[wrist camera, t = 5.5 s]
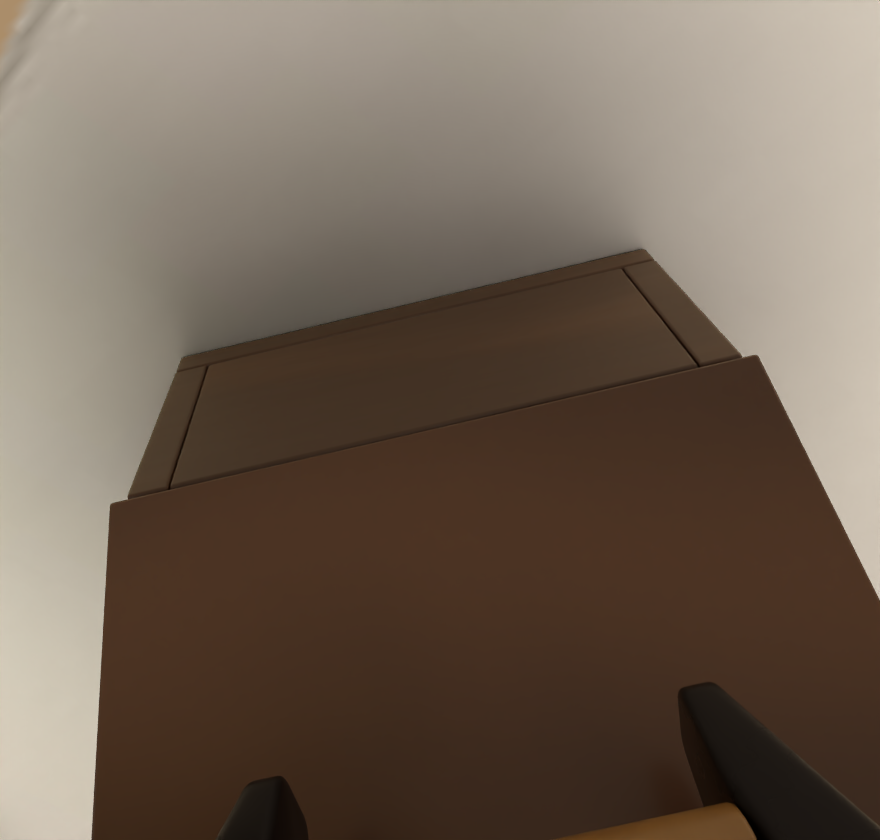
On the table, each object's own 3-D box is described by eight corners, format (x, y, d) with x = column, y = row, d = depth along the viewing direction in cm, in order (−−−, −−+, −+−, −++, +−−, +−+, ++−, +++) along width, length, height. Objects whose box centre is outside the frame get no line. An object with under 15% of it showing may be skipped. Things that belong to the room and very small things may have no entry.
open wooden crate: (674, 615, 26) (749, 773, 21) (324, 692, 27) (318, 867, 22) (644, 247, 20) (743, 354, 15) (180, 356, 20) (124, 497, 15)
